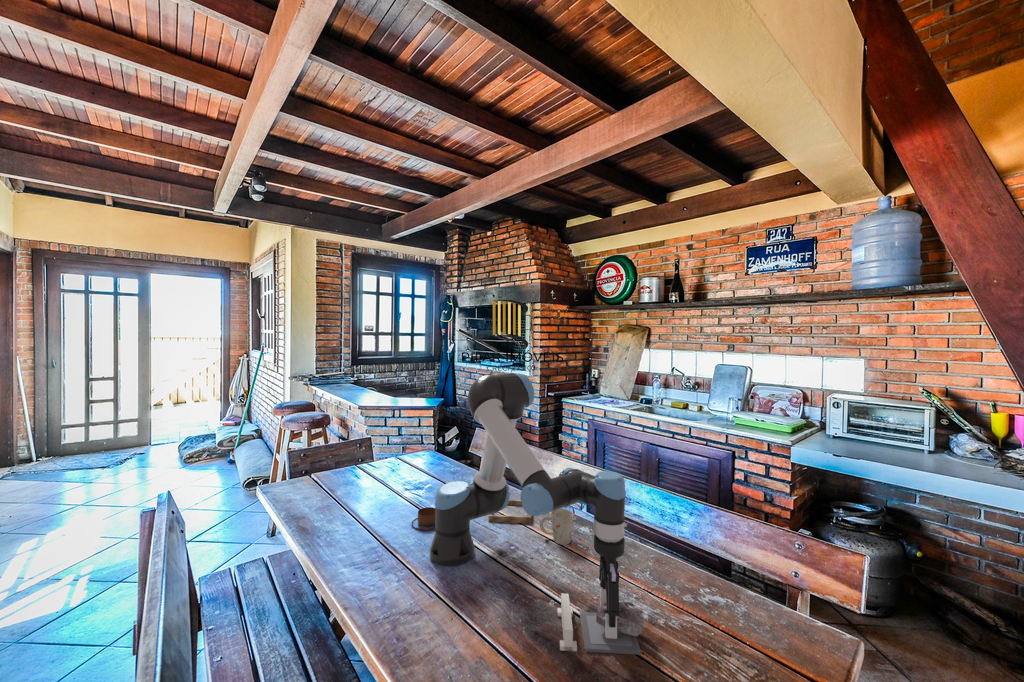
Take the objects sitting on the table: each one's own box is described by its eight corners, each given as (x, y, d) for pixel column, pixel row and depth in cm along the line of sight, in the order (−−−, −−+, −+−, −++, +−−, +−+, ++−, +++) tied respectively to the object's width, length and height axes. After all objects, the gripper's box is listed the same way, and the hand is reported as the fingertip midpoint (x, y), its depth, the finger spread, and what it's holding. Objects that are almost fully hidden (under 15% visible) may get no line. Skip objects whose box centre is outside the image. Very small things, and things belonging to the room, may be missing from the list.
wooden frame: (488, 523, 165) (488, 516, 165) (493, 506, 182) (493, 499, 182) (531, 524, 164) (531, 517, 164) (531, 507, 181) (531, 500, 181)
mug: (572, 547, 147) (573, 519, 146) (537, 543, 149) (538, 516, 149) (574, 536, 155) (574, 510, 155) (540, 533, 157) (541, 507, 157)
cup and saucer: (405, 530, 159) (405, 514, 159) (423, 517, 170) (423, 503, 170) (431, 536, 154) (431, 520, 154) (448, 523, 165) (448, 507, 165)
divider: (560, 650, 99) (560, 629, 98) (557, 611, 113) (557, 593, 112) (576, 651, 98) (577, 630, 98) (572, 612, 112) (572, 593, 112)
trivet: (585, 651, 98) (585, 648, 98) (579, 614, 111) (579, 611, 111) (640, 654, 97) (641, 650, 97) (628, 617, 110) (628, 613, 110)
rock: (595, 610, 109) (596, 593, 109) (640, 619, 107) (641, 601, 107) (595, 631, 101) (597, 612, 101) (644, 641, 99) (645, 622, 99)
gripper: (633, 558, 94) (632, 657, 94) (616, 518, 114) (615, 599, 114) (600, 556, 94) (599, 655, 94) (589, 517, 114) (588, 598, 115)
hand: (608, 625), depth 104 cm, fingers closed on rock, 8 cm apart
